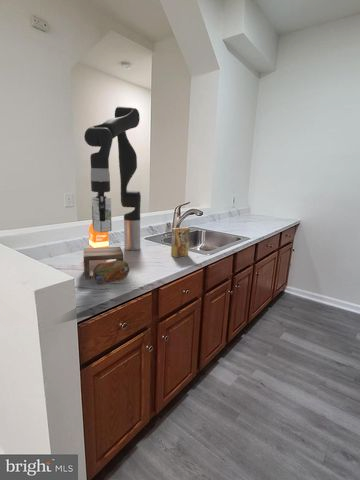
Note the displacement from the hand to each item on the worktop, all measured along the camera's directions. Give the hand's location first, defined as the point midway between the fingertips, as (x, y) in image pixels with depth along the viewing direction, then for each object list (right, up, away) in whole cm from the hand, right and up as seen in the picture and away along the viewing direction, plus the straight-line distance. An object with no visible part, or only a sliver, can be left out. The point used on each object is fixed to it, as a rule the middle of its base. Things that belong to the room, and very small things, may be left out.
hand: (102, 219), depth 116 cm
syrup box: (0, -5, +1) cm, 5 cm away
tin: (+5, -26, -2) cm, 26 cm away
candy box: (+33, -17, +34) cm, 51 cm away
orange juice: (-10, -17, +29) cm, 36 cm away
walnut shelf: (-1, -23, +6) cm, 24 cm away
